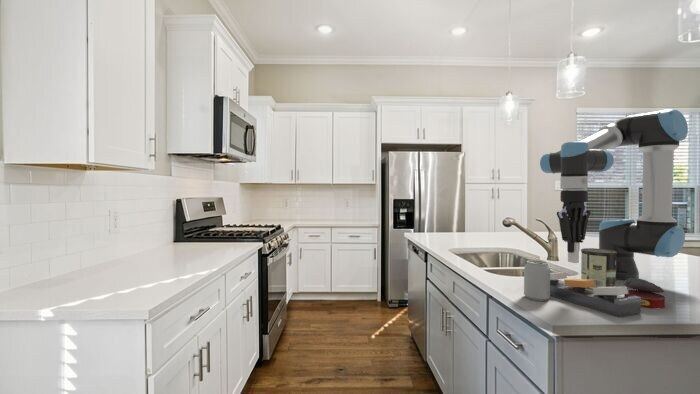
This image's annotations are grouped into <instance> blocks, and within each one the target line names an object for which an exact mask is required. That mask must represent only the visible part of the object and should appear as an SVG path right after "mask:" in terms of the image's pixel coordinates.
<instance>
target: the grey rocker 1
mask: <svg viewBox="0 0 700 394" xmlns="http://www.w3.org/2000/svg"><path fill="white" fill-rule="evenodd" d="M555 279H557V280H566V279H568V276H567V272H566V271H565V272H564V271H563V272H550V280H555Z"/></svg>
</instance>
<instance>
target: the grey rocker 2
mask: <svg viewBox="0 0 700 394" xmlns="http://www.w3.org/2000/svg"><path fill="white" fill-rule="evenodd" d="M593 290H594V295H618V296H622V295H623V296H624V294H628V290H629V289H628V287H627V286H616V287H598V288H593Z"/></svg>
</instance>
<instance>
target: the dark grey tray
mask: <svg viewBox="0 0 700 394" xmlns="http://www.w3.org/2000/svg"><path fill="white" fill-rule="evenodd" d="M550 297H554V298H557V299H560V300H563V301H566V302H570V303H573V304H575V305H578V306H582V307H585V308H588V309H592V310H595V311H598V312H602V313H604V314H608V315H611V316H614V317H618V318H624V317H629V316H635V315H639V314H641V308H642V307H641V297H638V296H629V297H624V296H622V295H594V290H593V289H592V288H588V287H587V288H584V287H571V286H565V282H564V280H562V279H555V280H550Z"/></svg>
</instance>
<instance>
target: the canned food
mask: <svg viewBox="0 0 700 394" xmlns="http://www.w3.org/2000/svg"><path fill="white" fill-rule="evenodd" d="M626 286H627V290H628V294H623V297H629V296H638V297H641V308H646V309H655V308H660V309H664V308H665V306H666V297H665V296H664V295H663V294H662V293H665V289H663V288H662V287H661V286H659V285H657V284H655V283H654V282H651V281H648V280H646V279H643V278H629V279H625V281H624V282H623V287H626Z"/></svg>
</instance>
